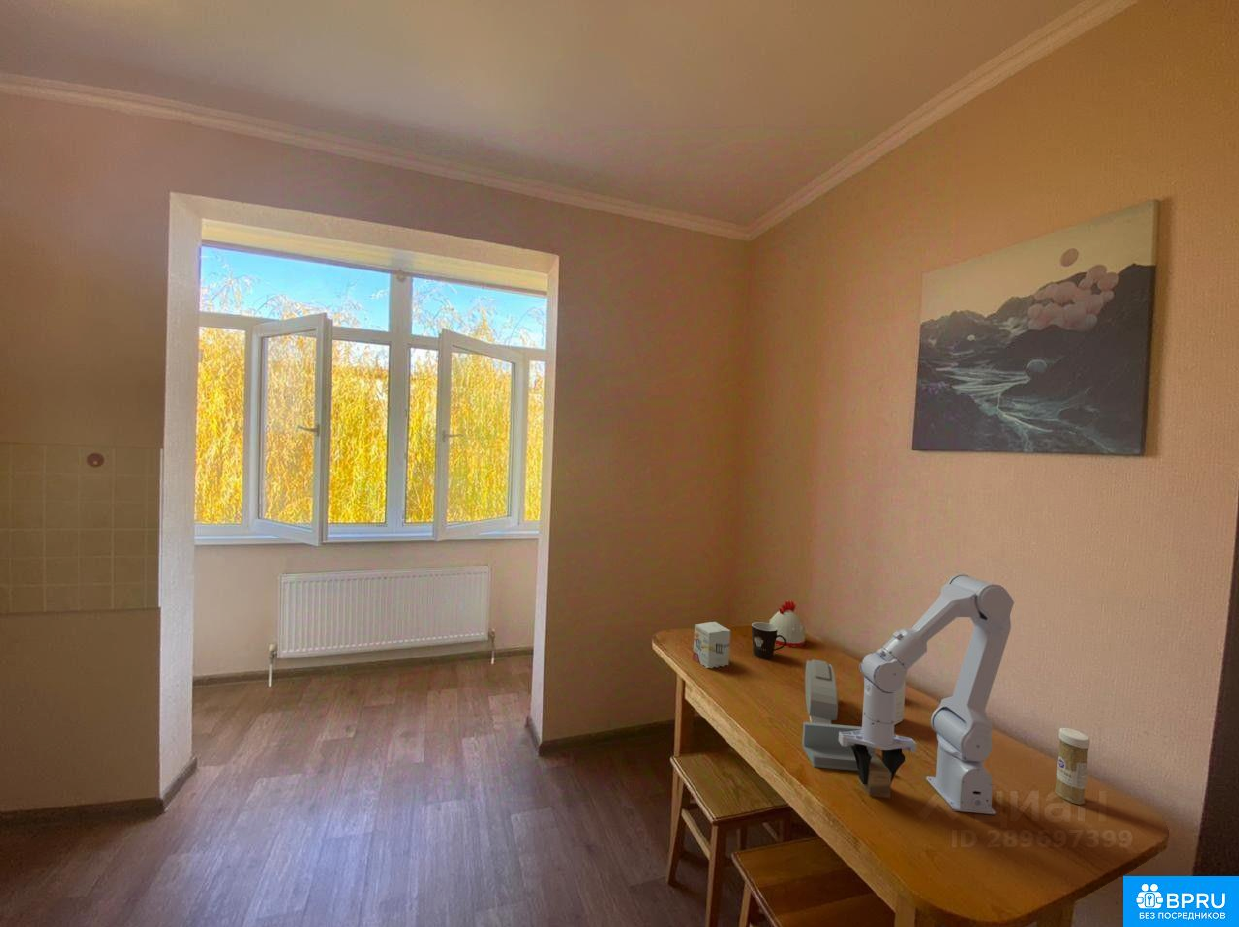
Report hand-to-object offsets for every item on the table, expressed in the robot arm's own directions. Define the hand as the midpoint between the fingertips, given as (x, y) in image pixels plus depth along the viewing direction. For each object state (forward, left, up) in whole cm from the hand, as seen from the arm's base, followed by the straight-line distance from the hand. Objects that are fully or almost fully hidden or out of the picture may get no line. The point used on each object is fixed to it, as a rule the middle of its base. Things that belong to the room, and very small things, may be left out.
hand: (874, 782), depth 96 cm
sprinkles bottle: (+3, -41, -2) cm, 41 cm away
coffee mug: (+65, +5, -2) cm, 65 cm away
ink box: (+57, +25, -2) cm, 62 cm away
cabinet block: (0, 0, -1) cm, 1 cm away
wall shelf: (+9, +2, -1) cm, 10 cm away
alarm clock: (+30, 0, -2) cm, 30 cm away
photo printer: (+28, -17, -2) cm, 33 cm away
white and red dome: (+83, -7, -2) cm, 83 cm away
